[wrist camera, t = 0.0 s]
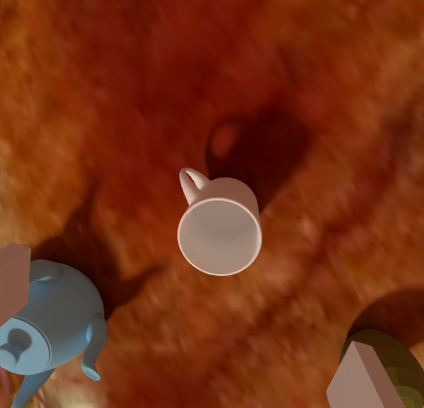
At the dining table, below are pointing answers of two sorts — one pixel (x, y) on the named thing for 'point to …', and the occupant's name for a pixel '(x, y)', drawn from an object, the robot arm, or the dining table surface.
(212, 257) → the mug
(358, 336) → the olive green ball
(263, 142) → the dining table surface
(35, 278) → the teapot
